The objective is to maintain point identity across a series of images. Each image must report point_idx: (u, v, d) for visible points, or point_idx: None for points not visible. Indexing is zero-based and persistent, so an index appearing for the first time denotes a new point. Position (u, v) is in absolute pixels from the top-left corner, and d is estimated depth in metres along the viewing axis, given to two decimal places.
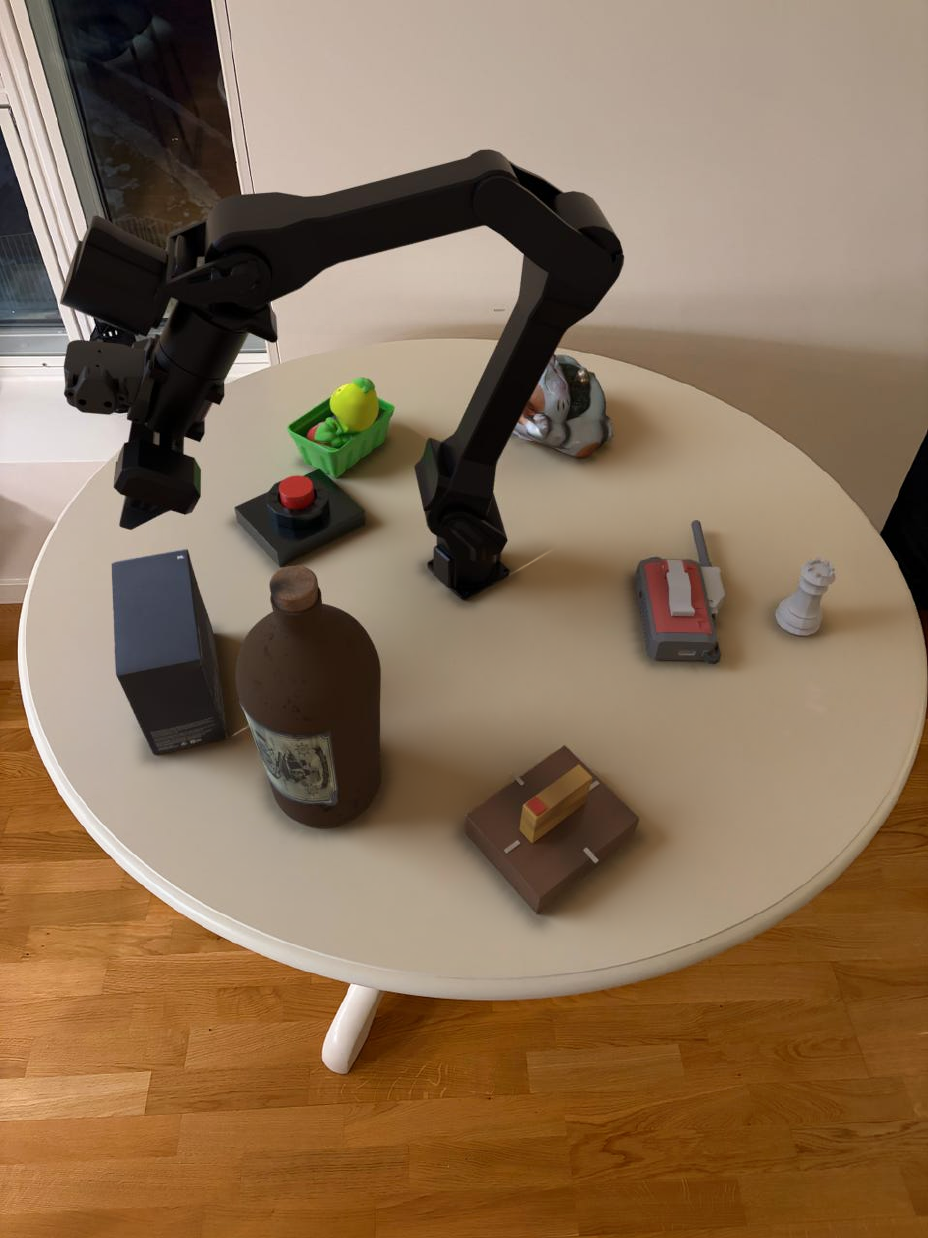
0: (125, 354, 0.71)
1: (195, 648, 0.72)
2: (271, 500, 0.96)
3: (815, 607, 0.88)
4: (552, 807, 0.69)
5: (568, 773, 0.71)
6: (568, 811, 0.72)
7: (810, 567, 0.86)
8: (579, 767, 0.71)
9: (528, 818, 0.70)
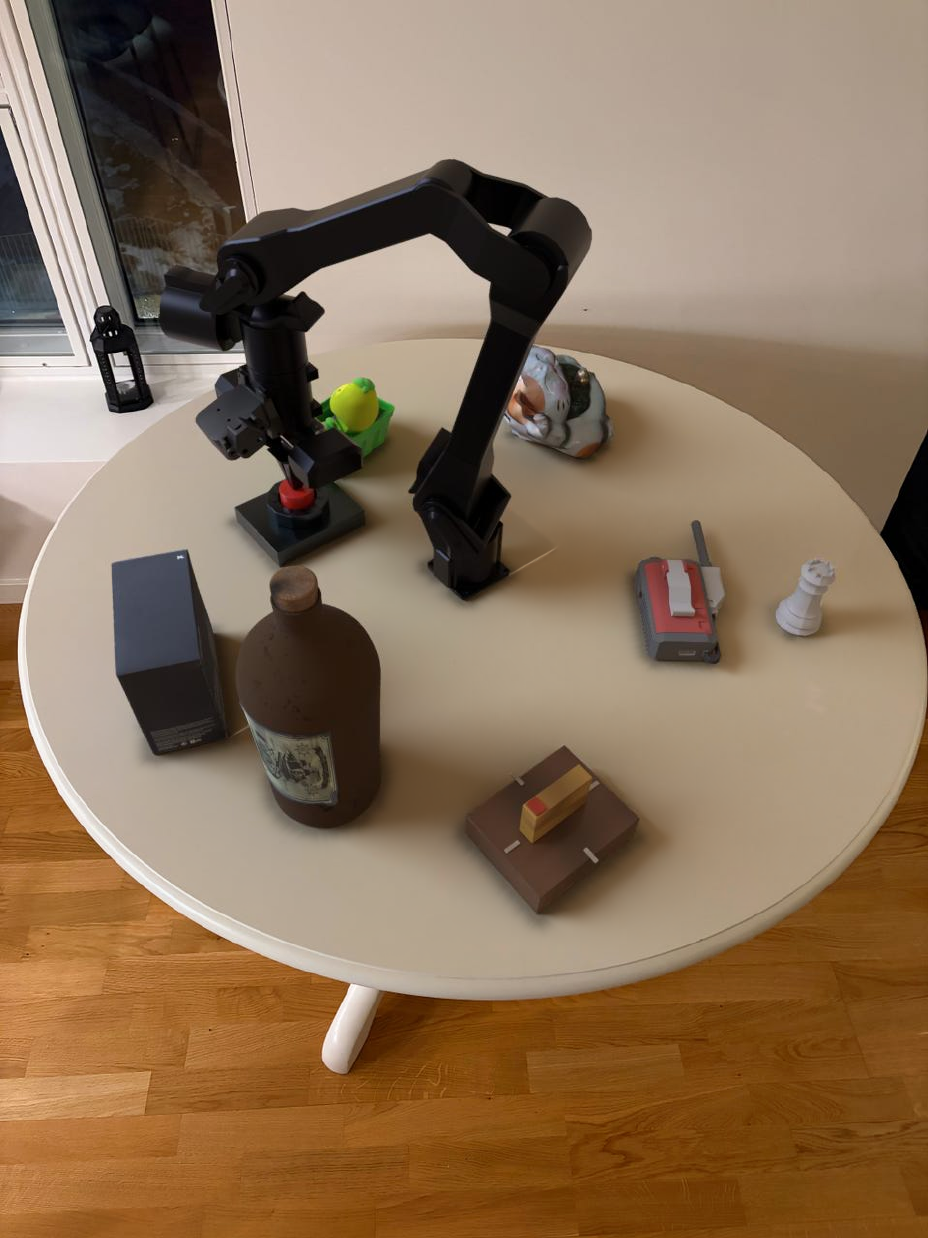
0: (234, 397, 0.85)
1: (194, 648, 0.72)
2: (271, 500, 0.96)
3: (815, 607, 0.88)
4: (552, 807, 0.69)
5: (568, 773, 0.71)
6: (568, 811, 0.72)
7: (810, 567, 0.86)
8: (579, 767, 0.71)
9: (528, 818, 0.70)
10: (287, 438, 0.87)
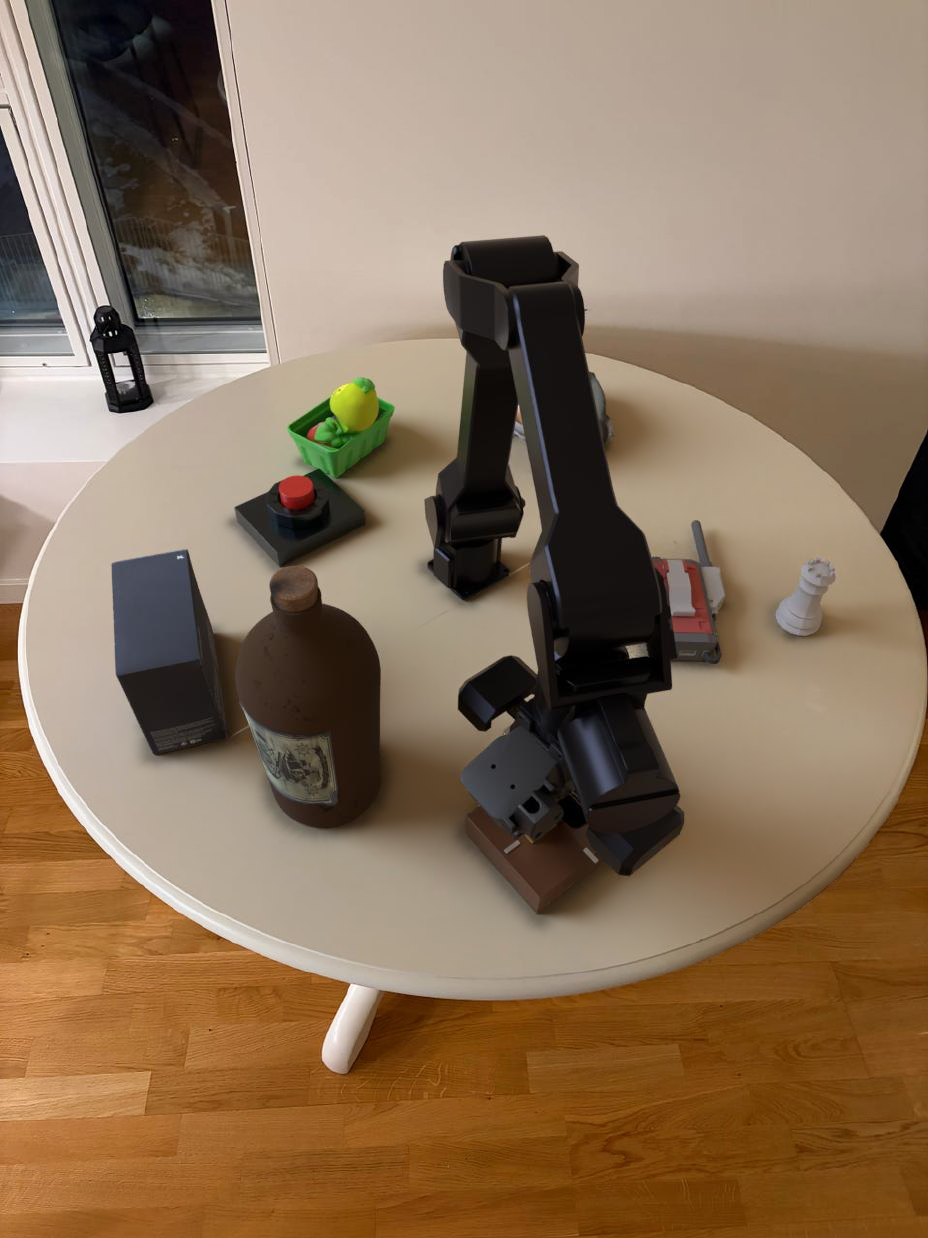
0: (514, 748, 0.62)
1: (194, 648, 0.72)
2: (271, 500, 0.96)
3: (816, 607, 0.88)
4: None
5: None
6: None
7: (810, 567, 0.86)
8: None
9: None
10: None
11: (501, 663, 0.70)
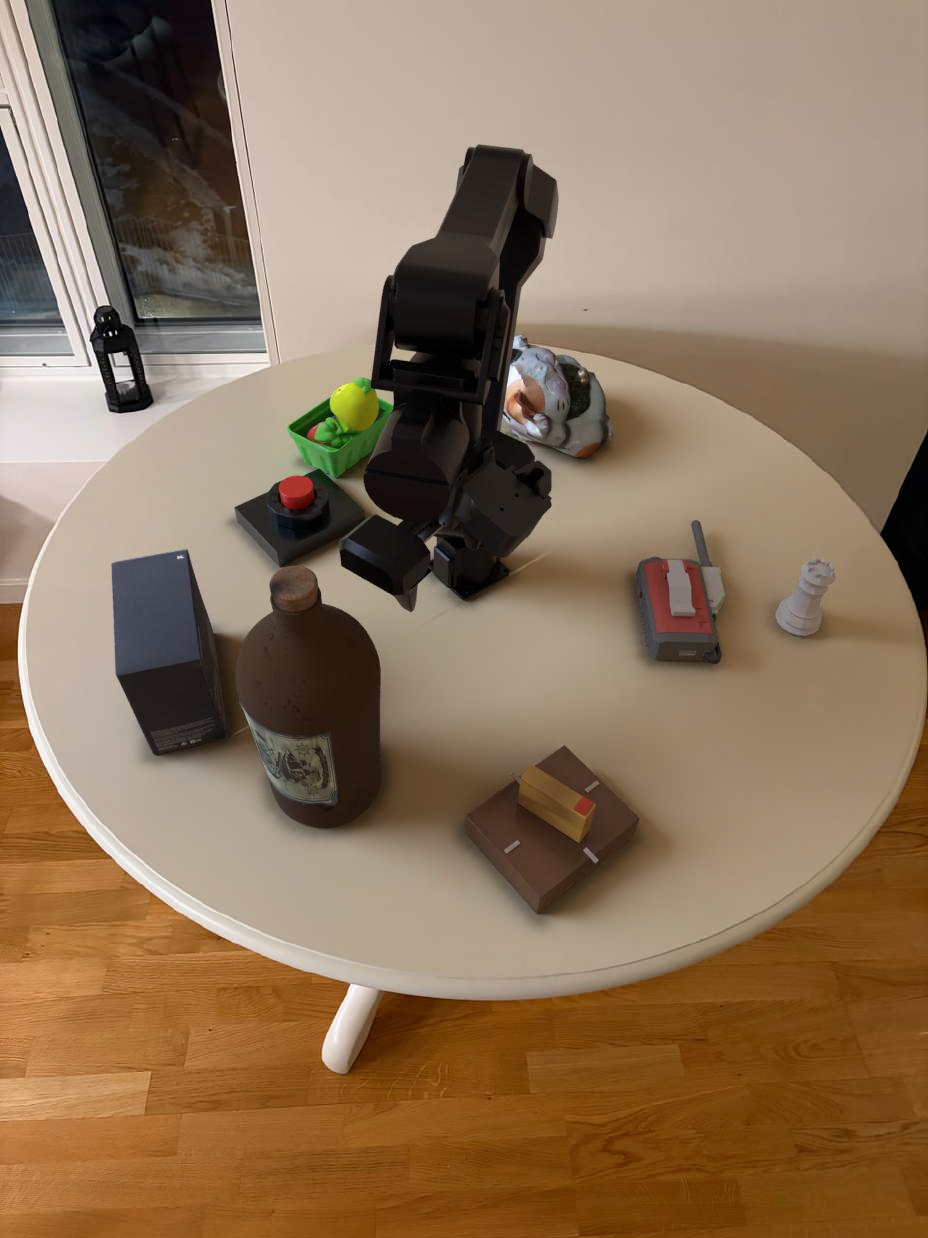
0: (482, 492, 0.66)
1: (194, 648, 0.72)
2: (271, 500, 0.96)
3: (815, 607, 0.88)
4: (577, 793, 0.70)
5: (535, 784, 0.70)
6: None
7: (810, 567, 0.86)
8: (524, 776, 0.71)
9: (589, 818, 0.70)
10: None
11: (359, 542, 0.66)
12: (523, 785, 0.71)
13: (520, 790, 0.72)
